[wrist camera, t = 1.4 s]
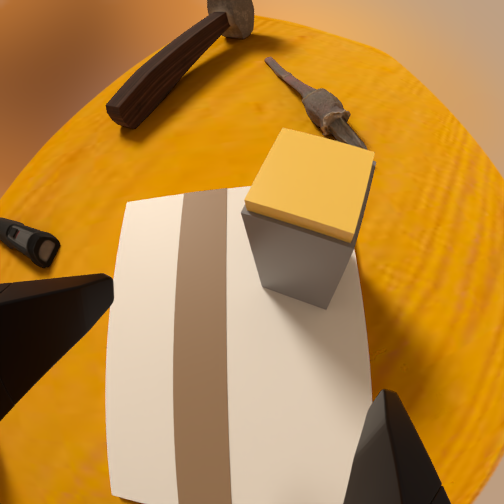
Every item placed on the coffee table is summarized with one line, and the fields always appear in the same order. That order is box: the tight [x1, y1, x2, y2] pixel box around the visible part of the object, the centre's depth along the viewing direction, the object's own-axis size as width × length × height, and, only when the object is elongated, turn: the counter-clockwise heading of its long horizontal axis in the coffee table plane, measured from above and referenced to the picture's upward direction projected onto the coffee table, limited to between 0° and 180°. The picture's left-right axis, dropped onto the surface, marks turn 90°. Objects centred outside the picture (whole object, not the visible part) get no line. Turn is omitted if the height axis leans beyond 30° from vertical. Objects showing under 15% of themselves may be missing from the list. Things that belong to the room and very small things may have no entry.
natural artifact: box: [265, 57, 367, 150], centre depth 30 cm, size 4×23×4 cm
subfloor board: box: [106, 186, 372, 504], centre depth 21 cm, size 27×20×1 cm
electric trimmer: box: [0, 218, 60, 268], centre depth 28 cm, size 4×16×3 cm, turn 71°
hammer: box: [106, 0, 254, 129], centre depth 35 cm, size 5×11×30 cm
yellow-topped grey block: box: [241, 128, 376, 310], centre depth 17 cm, size 5×5×11 cm
